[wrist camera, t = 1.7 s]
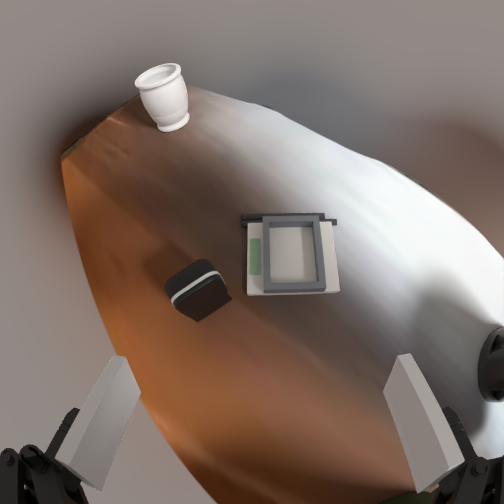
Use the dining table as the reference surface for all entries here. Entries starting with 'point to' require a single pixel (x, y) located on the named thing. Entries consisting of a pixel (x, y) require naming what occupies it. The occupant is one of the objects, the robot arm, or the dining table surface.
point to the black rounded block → (197, 290)
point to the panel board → (291, 256)
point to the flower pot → (411, 498)
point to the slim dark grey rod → (259, 217)
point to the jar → (164, 96)
